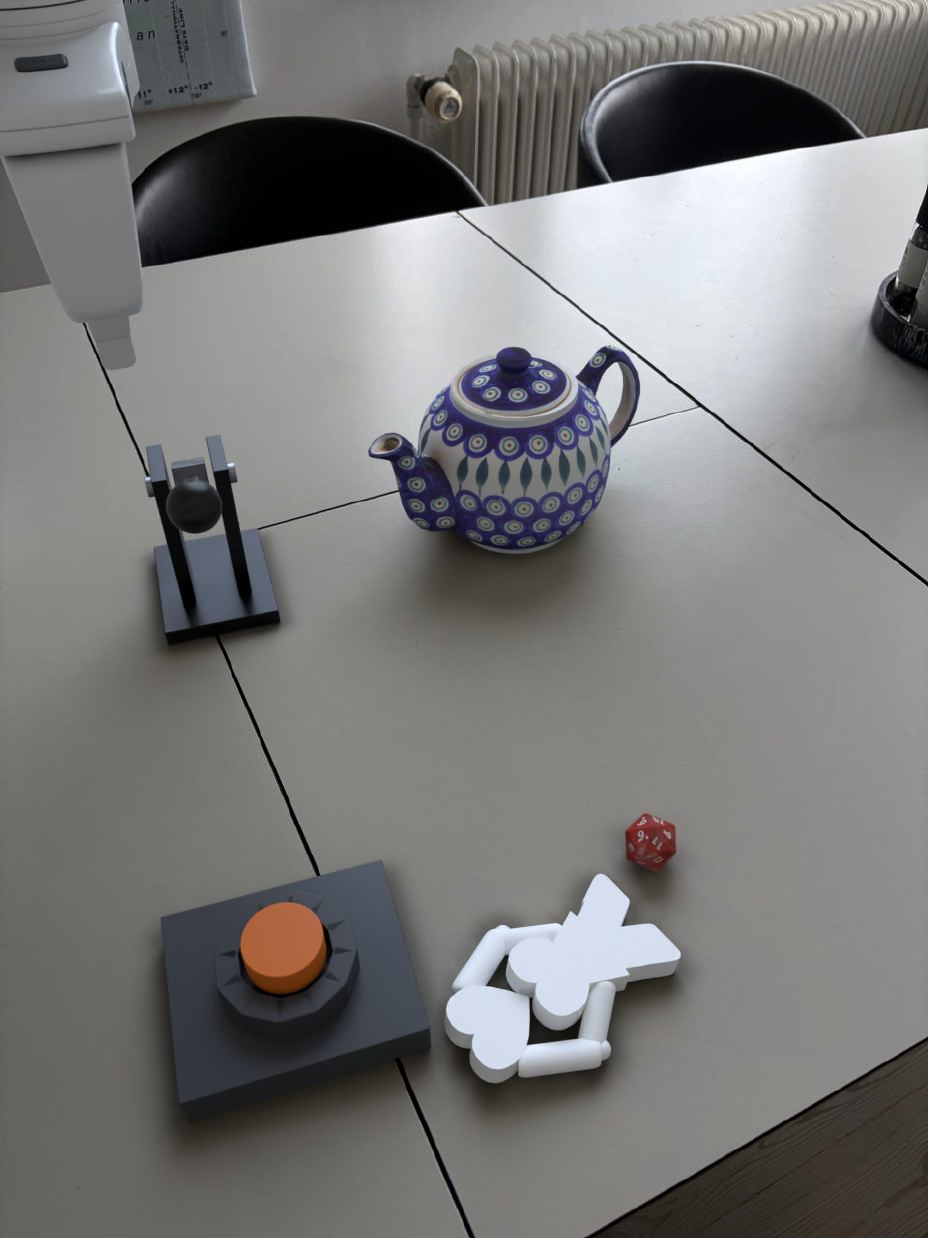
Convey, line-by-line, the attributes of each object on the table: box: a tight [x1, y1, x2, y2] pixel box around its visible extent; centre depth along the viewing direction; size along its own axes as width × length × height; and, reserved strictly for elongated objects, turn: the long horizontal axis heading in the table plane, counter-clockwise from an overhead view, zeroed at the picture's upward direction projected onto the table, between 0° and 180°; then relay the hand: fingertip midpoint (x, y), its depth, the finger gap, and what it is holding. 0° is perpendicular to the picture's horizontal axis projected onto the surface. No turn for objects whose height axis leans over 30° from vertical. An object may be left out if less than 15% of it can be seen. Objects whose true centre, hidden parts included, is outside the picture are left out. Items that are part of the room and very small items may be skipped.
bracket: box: [143, 434, 281, 646], centre depth 71 cm, size 10×8×12 cm
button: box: [240, 902, 326, 994], centre depth 49 cm, size 4×4×2 cm
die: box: [624, 812, 677, 873], centre depth 57 cm, size 3×3×3 cm
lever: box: [166, 456, 222, 535], centre depth 64 cm, size 13×3×3 cm, turn 17°
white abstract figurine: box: [443, 873, 682, 1084], centre depth 52 cm, size 9×12×2 cm
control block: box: [160, 859, 432, 1123], centre depth 51 cm, size 12×10×4 cm
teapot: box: [367, 345, 641, 555], centre depth 77 cm, size 25×15×15 cm, turn 122°
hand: (108, 324), depth 58 cm, fingers open, 8 cm apart
